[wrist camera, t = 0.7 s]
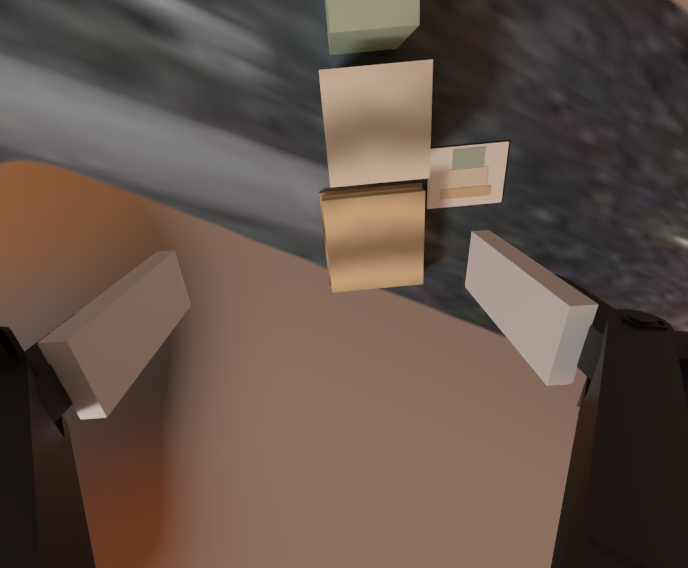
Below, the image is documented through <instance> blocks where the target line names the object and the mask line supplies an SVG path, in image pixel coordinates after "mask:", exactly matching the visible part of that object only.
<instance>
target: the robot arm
mask: <svg viewBox="0 0 688 568" xmlns="http://www.w3.org/2000/svg"><path fill="white" fill-rule="evenodd" d="M465 287H466V288H467V290H468V291H469V292H470V293H471V295H472V296H473V297H474V298H475V299H476V301H477V302H478V303H479V304H480V305H481V307H482V308H483V309H484V310H485V311H486V313H487V314H488V315H489V316H490V317H491V319H492V320H493V321H494V322H495V324H496V325H497V326H498V327H499V328H500V330H501V331H502V332H503V333H504V334H505V336H506V337H507V338H508V339H509V340H510V342H511V343H512V344H513V345H514V346H515V348H516V349H517V350H518V351H519V352H520V354H521V355H522V356H523V357H524V359H525V360H526V361H527V362H528V363H529V365H530V366H531V367H532V368H533V369H534V371H535V372H536V373H537V374H538V375H539V377H540V378H541V379H542V380H543V381H544V383H545V384H546V385H547V386H550V385H564V384H572V383H573V380H574V377H575V374H576V371H577V368H579V369H580V370H581V371H582V372H583V373H584V374H585V375H586V376H587V379H586V382H585V385H584V387H583V390H582V393H581V396H580V399H579V401H578V404H577V406H578V407H580V410H579V415H578V421H577V426H576V432H575V437H574V443H573V448H572V454H571V459H570V465H569V470H568V476H567V481H566V487H565V492H564V498H563V503H562V509H561V514H560V520H559V525H558V531H557V536H556V542H555V548H554V553H553V558H552V564H551V568H688V332H684V331H674V329H673V328H672V326H671V325H670V324H669V323H667V322H666V321H665V320H663V319H661V318H659V317H657V316H654V315H652V314H648V313H645V312H641V311H636V310H629V309H618V310H616V309H614V308H612V307H611V306H609V305H608V304H606V303H605V302H603V301H602V300H600V299H599V298H597V297H596V296H594V295H593V294H590V292H588V291H587V290H585V289H583V288H581V287H580V286H579V285H577V284H576V283H574V282H573V281H571V280H569V279H567V278H564V277H562V276H559V275H556V274H553V273H551V272H550V271H548V270H547V269H546V268H544V267H543V266H541V265H540V264H538V263H537V262H535V261H534V260H532V259H531V258H529V257H528V256H526V255H525V254H523V253H522V252H520V251H519V250H517V249H516V248H514V247H513V246H511V245H510V244H509V243H507V242H506V241H504V240H503V239H501V238H500V237H498V236H497V235H495V234H494V233H492V232H491V231H489V230H484V231H472V233H471V241H470V250H469V258H468V266H467V274H466V282H465ZM190 306H191V304H190V300H189V297H188V294H187V290H186V287H185V284H184V280H183V277H182V274H181V271H180V267H179V264H178V260H177V257H176V254H175V251H163V252H156V253H155V254H154V255H152V256H151V257H150V258H148V259H147V260H146V261H144V262H143V263H142V264H140V265H139V266H138V267H136V268H135V269H134V270H133V271H131V272H130V273H129V274H127V275H126V276H125V277H123V278H122V279H121V280H119V281H118V282H117V283H115V284H114V285H113V286H111V287H110V288H109V289H108V290H106V291H105V292H104V293H102V294H101V295H100V296H98V297H97V298H96V299H94V300H93V301H92V302H90V303H89V304H88V305H86V306H85V307H84V308H83V309H82V310H80V311H79V312H77V313H76V314H74V315H72V316H71V317H70V318H68V319H67V320H66V321H64V322H63V323H62V325H59V326H58V327H57V328H55V329H54V330H53V331H52V332H50V333H49V334H47V335H46V336H45V337H43V338H42V339H41V340H39V341H38V342H37V343H35V344H34V345H33V346H31V347H30V348H29V349H27V350H26V351H25V352H24V350H23V349H22V347H21V346H20V344H19V342H18V341H17V339H16V337H15V336H14V334H13V332H12V331H11V329H10V328H9V327H0V568H96V567H95V562H94V557H93V551H92V546H91V541H90V536H89V531H88V526H87V520H86V515H85V510H84V505H83V500H82V495H81V489H80V484H79V479H78V474H77V468H76V463H75V458H74V454H73V448H72V443H71V437H70V432H69V427H68V424H67V422H66V420H65V419H64V417H63V414H64V413H65V412H66V410H67V409H68V408H69V407H70V406H71V405H73V407H74V409H75V410H76V412H77V414H78V416H79V418H80V419H94V418H107V417H108V415H109V414H110V413H111V411H112V410H113V409H114V407H115V406H116V404H117V403H118V402H119V401H120V399H121V398H122V397H123V395H124V394H125V393H126V391H127V390H128V389H129V387H130V386H131V385H132V383H133V382H134V381H135V379H136V378H137V377H138V375H139V374H140V372H141V371H142V370H143V369H144V367H145V366H146V365H147V363H148V362H149V361H150V359H151V358H152V357H153V355H154V354H155V353H156V351H157V350H158V349H159V347H160V346H161V345H162V343H163V342H164V340H165V339H166V338H167V337H168V335H169V334H170V332H171V331H172V330H173V328H174V327H175V326H176V325H177V323H178V322H179V321H180V319H181V318H182V317H183V315H184V313H185V312H186V311H187V310H188V308H189V307H190Z"/></svg>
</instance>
